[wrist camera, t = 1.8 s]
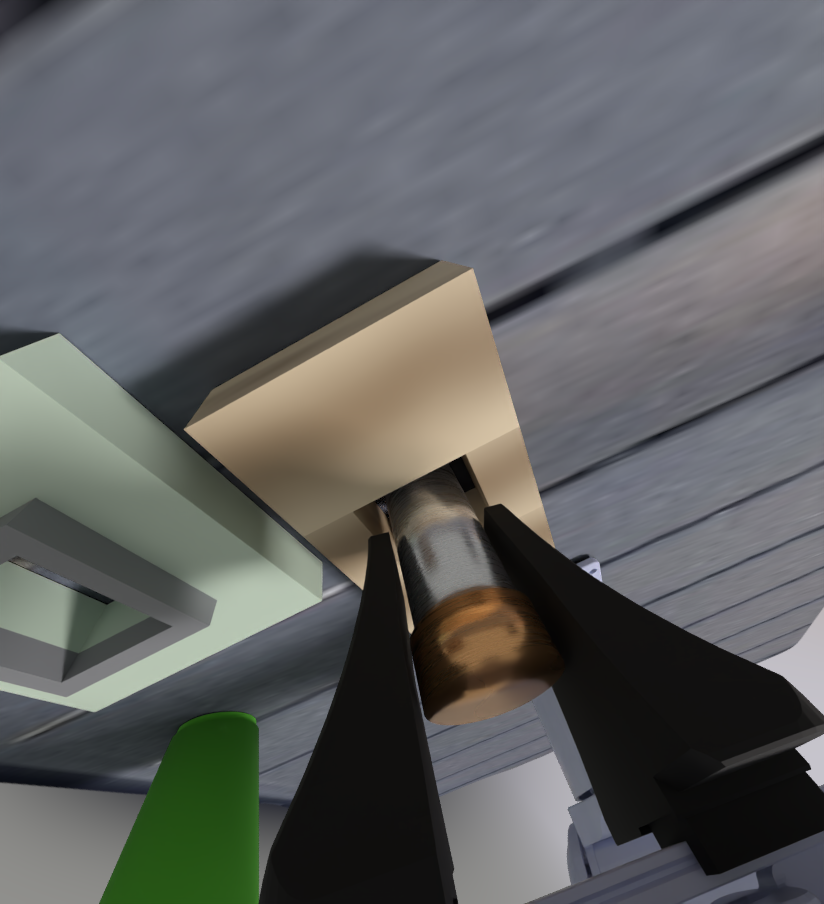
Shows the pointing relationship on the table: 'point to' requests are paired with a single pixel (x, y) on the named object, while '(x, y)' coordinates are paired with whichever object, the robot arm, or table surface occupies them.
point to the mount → (376, 417)
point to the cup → (197, 820)
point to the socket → (122, 540)
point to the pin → (465, 609)
